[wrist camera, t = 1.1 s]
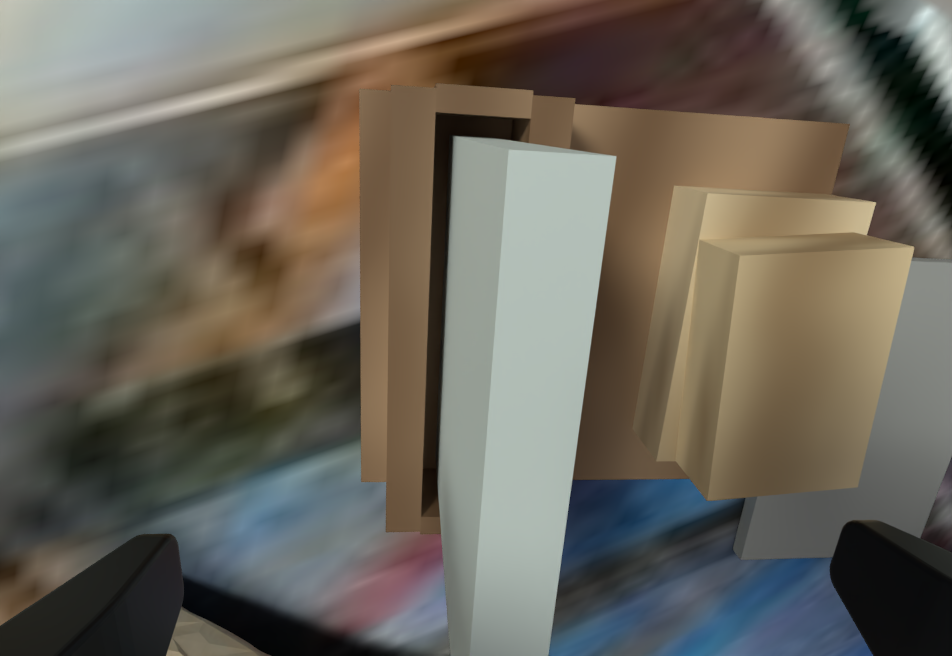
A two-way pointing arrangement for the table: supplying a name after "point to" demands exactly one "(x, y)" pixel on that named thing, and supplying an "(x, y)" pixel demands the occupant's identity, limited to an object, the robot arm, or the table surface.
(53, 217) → the table surface
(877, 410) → the mat
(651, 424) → the offcut lower
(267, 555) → the table surface
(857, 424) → the offcut upper
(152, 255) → the table surface
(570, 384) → the panel
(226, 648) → the tan curved tapered piece
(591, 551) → the table surface
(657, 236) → the rack
